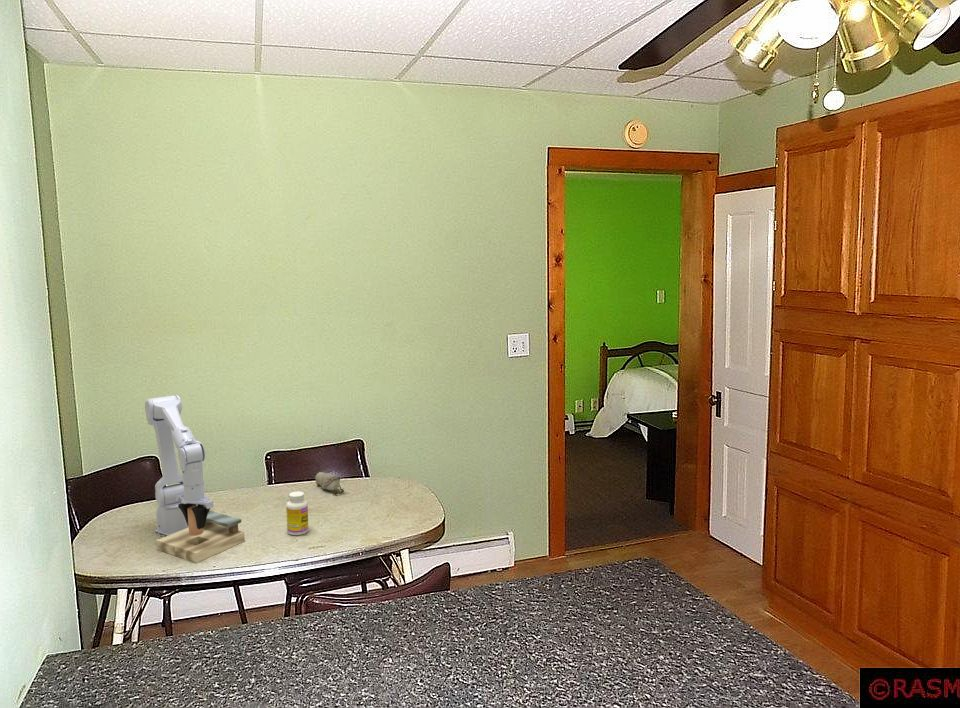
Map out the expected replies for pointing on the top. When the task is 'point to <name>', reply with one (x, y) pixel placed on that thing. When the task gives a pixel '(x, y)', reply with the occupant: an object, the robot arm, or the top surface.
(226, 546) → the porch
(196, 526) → the peg
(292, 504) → the supplement bottle
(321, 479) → the decorative bird
